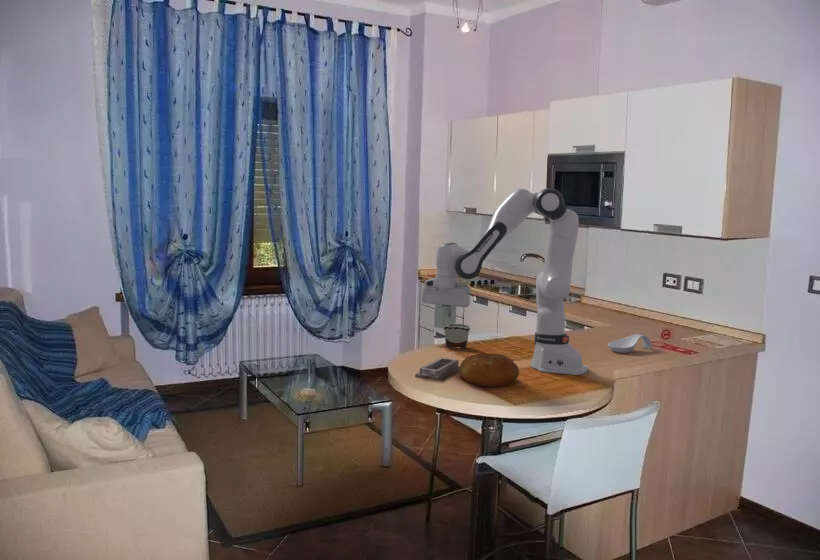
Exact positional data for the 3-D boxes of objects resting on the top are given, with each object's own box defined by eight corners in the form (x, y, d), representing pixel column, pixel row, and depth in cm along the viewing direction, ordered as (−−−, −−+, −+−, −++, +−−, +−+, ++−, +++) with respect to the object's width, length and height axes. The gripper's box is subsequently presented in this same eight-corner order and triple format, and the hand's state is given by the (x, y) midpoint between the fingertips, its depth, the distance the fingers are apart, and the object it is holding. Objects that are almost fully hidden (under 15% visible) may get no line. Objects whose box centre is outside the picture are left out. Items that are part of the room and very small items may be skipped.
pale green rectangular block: (455, 322, 281) (456, 303, 281) (442, 328, 269) (442, 308, 268) (448, 321, 283) (448, 303, 282) (434, 327, 271) (434, 307, 270)
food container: (471, 346, 308) (472, 324, 307) (469, 349, 302) (470, 327, 301) (445, 344, 311) (446, 322, 310) (442, 346, 305) (443, 325, 304)
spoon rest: (621, 356, 297) (622, 340, 296) (601, 350, 307) (602, 335, 306) (657, 351, 309) (659, 335, 308) (637, 346, 319) (638, 331, 318)
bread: (532, 381, 252) (534, 355, 251) (496, 393, 235) (498, 365, 233) (482, 369, 267) (483, 345, 266) (445, 380, 250) (446, 354, 248)
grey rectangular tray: (462, 369, 266) (462, 360, 265) (442, 381, 248) (442, 371, 248) (437, 365, 271) (437, 357, 270) (415, 376, 253) (415, 367, 253)
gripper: (473, 283, 272) (472, 317, 274) (427, 279, 281) (426, 312, 283) (467, 285, 267) (466, 319, 268) (420, 281, 276) (419, 314, 277)
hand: (445, 316), depth 276 cm, fingers closed on pale green rectangular block, 3 cm apart
